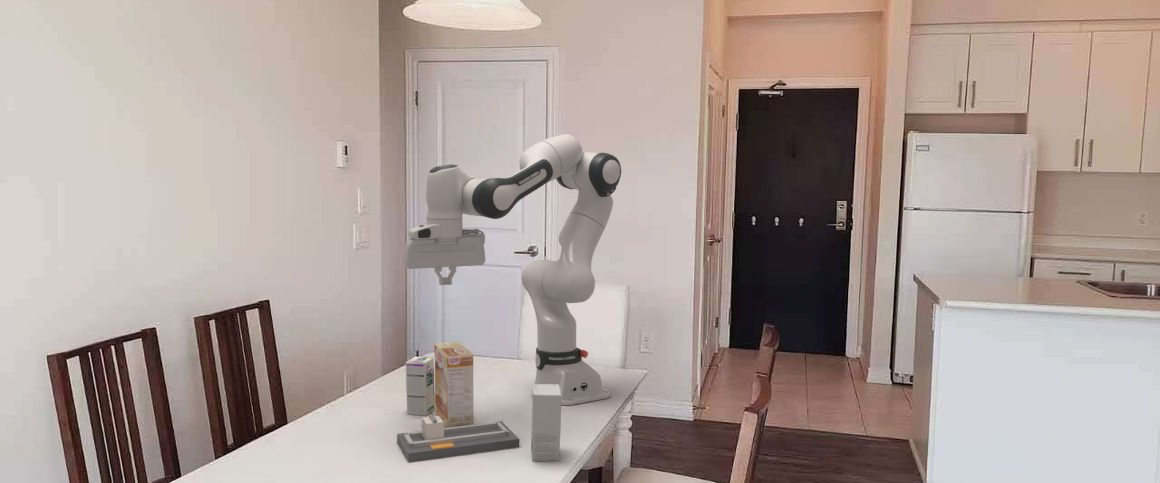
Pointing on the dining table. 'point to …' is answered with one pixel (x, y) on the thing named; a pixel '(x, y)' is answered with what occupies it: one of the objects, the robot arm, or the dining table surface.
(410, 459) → the board
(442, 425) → the fader tab
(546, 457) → the skincare box
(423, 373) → the syrup box
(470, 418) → the coffeecake box
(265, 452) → the dining table surface
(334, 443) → the dining table surface
